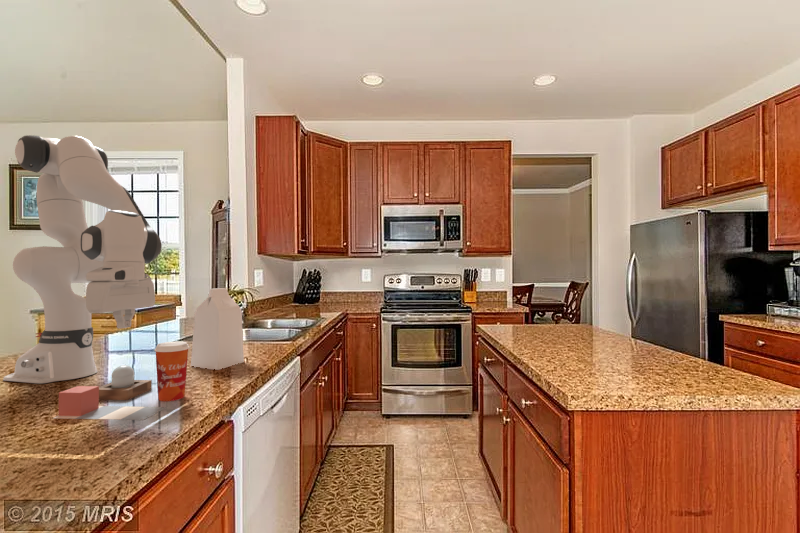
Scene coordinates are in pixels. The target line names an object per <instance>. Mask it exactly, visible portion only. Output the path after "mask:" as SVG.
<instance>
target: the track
mask: <svg viewBox="0 0 800 533" xmlns="http://www.w3.org/2000/svg"><path fill="white" fill-rule="evenodd" d="M165 409H167V406H131V405H130V406H127V405H125V406H122V405H121V406H120V405H119V406H118V405H113V406H111V405H99V408H98V409H96V410H93V411H91V412H89V413H87V414H84V415H82V416H58V415H56V416H55V417H53V419H65V420H66V419H68V420H71V419H72V420H73V419H74V420H114V421H115V420H121V421H123V420H126V421H145V420H147V419H149V418H150V417H152V416H154V415H155V414H157V413H160V412H161V411H162V410H165Z"/></svg>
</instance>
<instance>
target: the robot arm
mask: <svg viewBox="0 0 800 533" xmlns="http://www.w3.org/2000/svg"><path fill="white" fill-rule="evenodd" d="M14 148H15V149H14V154H15V158H16V161H17V163H18V165H19V166H20V167H21V168H23V169H24V170H26V171H29V172H32V173H41V174H40V175H39V177H38V179H37V184H36V204H37V206H36V207H37V214H38V215H37V216H38V220H39V226H40V227H39V228H40V230H41V231H42V233H44V235H46V236H47V237H50V238H51V239H54V240H55V241H57V242H58V243H59V244H61V245H62V246H45V245H44V246H34V247H27V248H26V247H25V248H23V249H21V250H19V251H18V252H17V254H15V257H14V258H13V262H12V269H13V271H14V274H15V276H16V277H18V279H19V280H20V281H22V282H23V283H25V284H27V285H29V286H30V287H31V288H33V290H35V291H36V293H37V295H38V296H39V298H40V299H41V301H42V305H43V310H44V311H43V312H44V313H43V314H44V330H43V331H42V332H38V333H35V335H36V336H35V338H39V340H38V343H37V344H35V345H34V346H33V347H31V348H30V349H29V350H26V352H24V353H23V354H21V355H20V356H19V357H18V358H17V359H16V361H15V366H14V372H13V373H12V372H11V373H10V374H7V375H5V376H3V379H2V381H7V382H17V383H28V384H29V383H30V384H38V385H39V384H40V385H41V384H48V383H53V382H59V381H68V380H75V379H79V378H84V377H85V378H86V377H88V376H92V375H94V374H97V373H98V369H97V366H96V362H95V357H94V352H93V339H94V327H92V322H93V321H92V314H105V313H112V317H113V318H114V320H115V321H116V329H118V330H121V329H122V330H123V329H127V328H131V327H132V320H133V318H134V317H135V314H136V309H143V308H152V307H154V306H155V303H156V293H155V292H156V291H155V284H154V282H153V281H152V277H151V276H150V275H149V274H148V273H145V267H146V266H145V265H147V264H150V263H152V262H153V261H155V260H156V258H158V256H159V255H160V254H161V252H162V249H163V248H162V245H163V244H162V240H161V238H160V236H159V235H158V233H157V232H156V231H155V230H154V229H153V227H151V225H150V224H149V222H148V221H147V219H146V218H145V216H144V214H143V212H142V211H141V209H140V207H139V206H138V203H136V201H135V199H134V198H133V197H132V195H131V193H130V192H129V191H128V189H126V188H125V186H122V185H121V184H120V183H119V182H118V181H117V180H116V179H114V177H113V176H112V175H111V174H110V173H109V171H108V167H109V160H108V159H109V158H108V155H107V153H106V152H105V150H104V149H102V148H100V147H98V146H95V145H94V144H93V143H92V142H91V141H90V140H89V139H87V138H84V137H82V136H78V135H69V136H64V137H62V138H60V139H59V138H52V137H45V136H40V135H35V134H34V135H32V134H31V135H27V134H26V135H23V136H21V137H20V138H19V139H18V140H17V143H16V145H15V147H14ZM83 201H86V202H89V203H92V204H95V205H98V206H101V207H102V208H103V207H104V208H106V209H109V210H107V211H106V212H105V215H104V218H103V220H101V221H100V222H99V223H97V224H95V225H91V226H89V227H88V223H87V220H86V214H85V209H84V204H83ZM71 284H87V285H86V289H85V297H84V296H81V295H79V294H77V293H75V292H74V291H73V289H72V285H71Z"/></svg>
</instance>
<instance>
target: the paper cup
mask: <svg viewBox="0 0 800 533" xmlns="http://www.w3.org/2000/svg"><path fill="white" fill-rule="evenodd" d="M189 349H191V347H190V346H189V343H188V342H186V341H180V340H179V341H165V342H160V343H158V344H157V345H156V347H155V348H154V350H153V351H154V352H155V366H156V380H157V383H156V384H157V398H158V401H160V402H174V401H178V400H181V399H184V398H185V395H186V394H185V393H186V385H187V384H186V383H187V382H186V381H187V371H188V370H187V369H188V355H189Z"/></svg>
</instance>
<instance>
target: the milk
mask: <svg viewBox="0 0 800 533" xmlns="http://www.w3.org/2000/svg"><path fill="white" fill-rule="evenodd" d="M193 317H194V318H193V331H192V344H191V358H190V367H191V366H194V367H193V368H196V367H200V368H199V369H205V368H207V369H206V370H214V369H215V371H219V370H222V368H223V369H225V368H228V367H232V365H233V366H235V364H236V365H239V364H242V363H244V362H245V359H244V358H245V357H244V355H245V354H244V338H243V337H244V333H243V332H244V331H243V312H242V308H241V306H239V304H238V303H237V302H235V300H234V299H233V298H232V297H231V296H230V295H229V291H228V289H227V287H224V288H223V287H222V288H220V287H219V288H218V287H217V288H210V289H209V294H208V296H207V297H206V299H205V300H204V301H203V302H201V303H200V305H199V306H198V307H197V308H196V309H195V311H194V316H193ZM238 363H239V364H238Z"/></svg>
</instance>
